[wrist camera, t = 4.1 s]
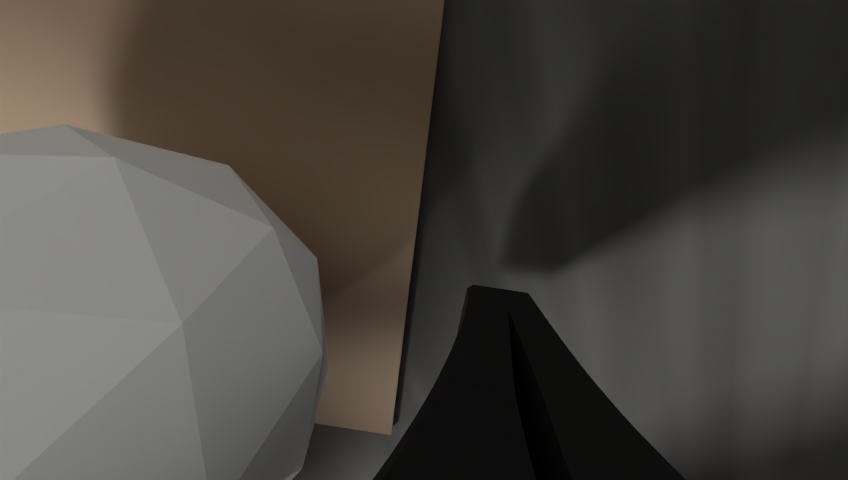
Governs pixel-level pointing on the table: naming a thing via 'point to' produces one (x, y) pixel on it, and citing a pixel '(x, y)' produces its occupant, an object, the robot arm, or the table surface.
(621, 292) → the table surface
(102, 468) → the geometric ball
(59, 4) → the pen board
